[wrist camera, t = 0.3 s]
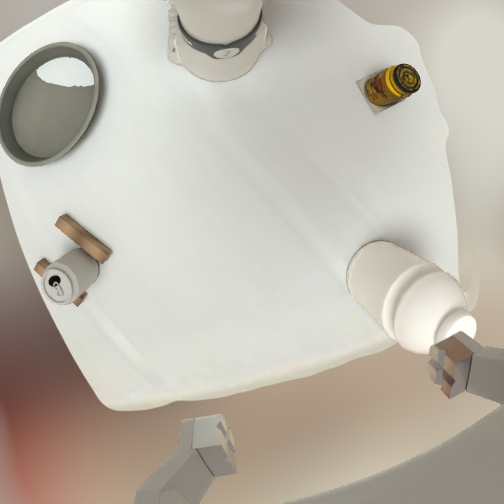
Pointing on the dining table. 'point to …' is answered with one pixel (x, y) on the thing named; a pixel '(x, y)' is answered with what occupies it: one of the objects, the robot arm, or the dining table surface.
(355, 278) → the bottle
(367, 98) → the condiment
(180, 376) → the dining table surface
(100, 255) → the parallel wooden bars
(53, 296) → the can
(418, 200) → the dining table surface
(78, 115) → the cake pan
